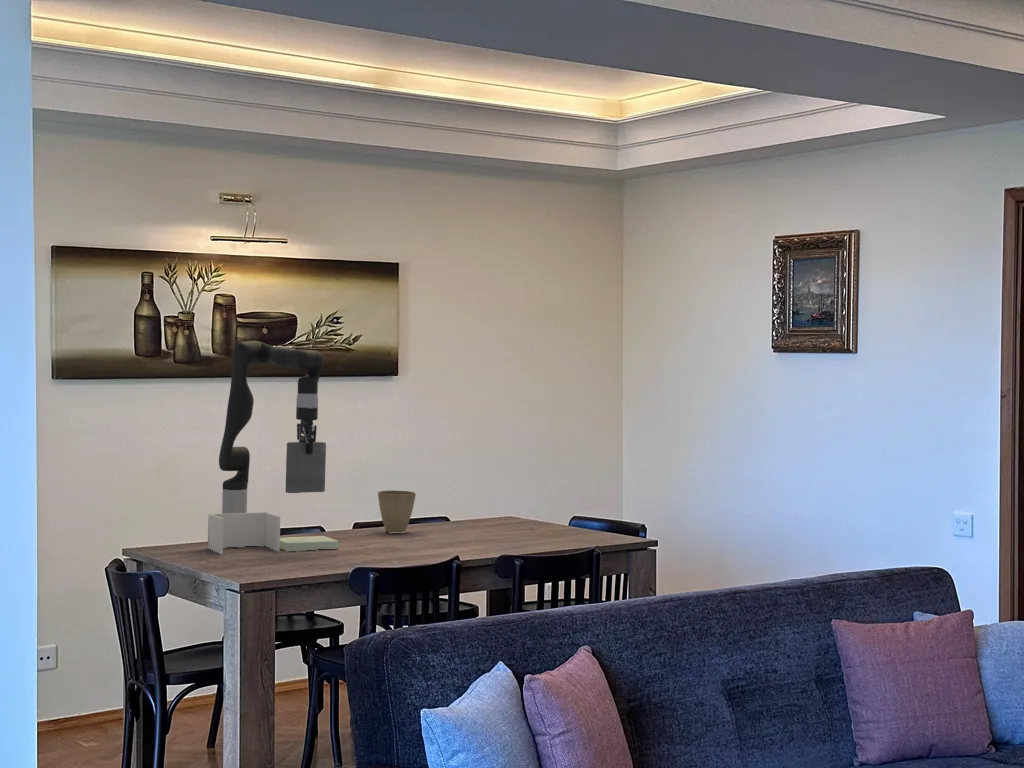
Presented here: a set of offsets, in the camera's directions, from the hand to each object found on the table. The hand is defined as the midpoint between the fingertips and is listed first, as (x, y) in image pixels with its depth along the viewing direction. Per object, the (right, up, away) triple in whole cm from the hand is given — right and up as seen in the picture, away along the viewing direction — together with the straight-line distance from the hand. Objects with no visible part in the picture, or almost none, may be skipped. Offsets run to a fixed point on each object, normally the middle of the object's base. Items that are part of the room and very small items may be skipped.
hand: (305, 453), depth 436 cm
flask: (0, -14, 0) cm, 14 cm away
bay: (-20, -33, -8) cm, 40 cm away
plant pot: (+27, -34, +49) cm, 66 cm away
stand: (0, -34, +1) cm, 34 cm away
